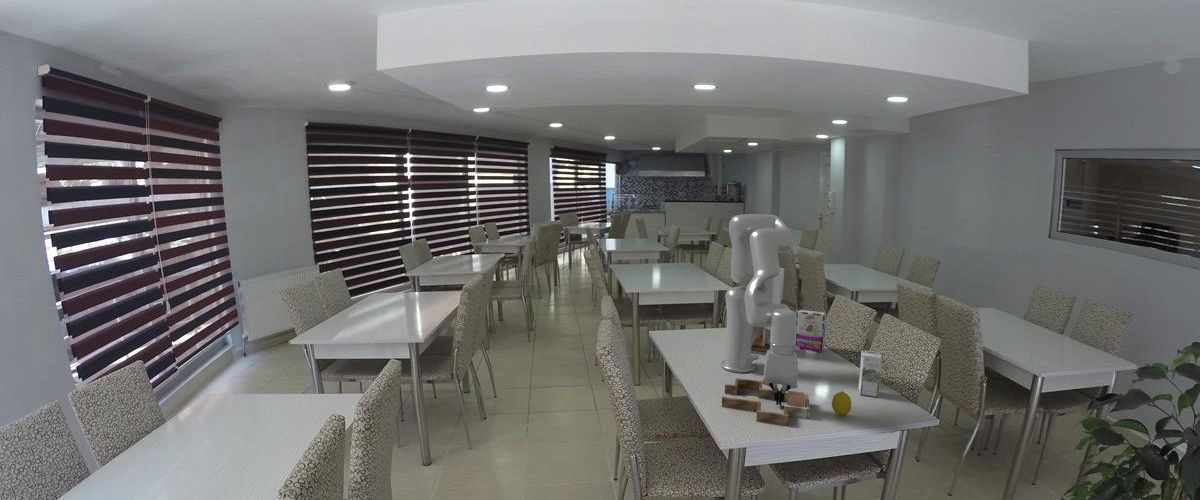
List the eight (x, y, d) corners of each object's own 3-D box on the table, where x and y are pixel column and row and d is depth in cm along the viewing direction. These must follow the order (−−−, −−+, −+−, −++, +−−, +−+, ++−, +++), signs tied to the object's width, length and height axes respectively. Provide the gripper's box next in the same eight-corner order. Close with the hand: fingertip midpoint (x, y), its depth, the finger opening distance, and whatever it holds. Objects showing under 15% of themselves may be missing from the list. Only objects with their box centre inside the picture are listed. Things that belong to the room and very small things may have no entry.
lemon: (827, 412, 173) (829, 388, 172) (844, 412, 174) (846, 387, 173) (836, 420, 168) (838, 395, 167) (853, 419, 168) (856, 395, 167)
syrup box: (875, 391, 190) (879, 351, 188) (878, 398, 185) (882, 356, 183) (857, 389, 192) (861, 349, 190) (859, 395, 187) (863, 354, 185)
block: (786, 411, 174) (787, 396, 173) (786, 405, 178) (787, 390, 178) (803, 413, 172) (804, 398, 172) (803, 407, 177) (804, 392, 176)
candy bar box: (824, 350, 234) (827, 312, 232) (822, 353, 230) (824, 315, 228) (797, 345, 240) (799, 308, 238) (794, 348, 236) (796, 311, 234)
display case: (748, 353, 229) (752, 270, 224) (751, 345, 239) (756, 266, 234) (777, 357, 225) (782, 272, 220) (779, 349, 234) (784, 268, 229)
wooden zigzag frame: (719, 415, 170) (719, 406, 170) (726, 384, 195) (727, 376, 194) (810, 428, 162) (811, 419, 162) (806, 395, 187) (807, 386, 186)
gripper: (806, 347, 176) (802, 402, 178) (758, 342, 180) (755, 395, 183) (807, 354, 169) (803, 411, 171) (757, 349, 173) (754, 404, 176)
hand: (778, 403), depth 177 cm, fingers closed
